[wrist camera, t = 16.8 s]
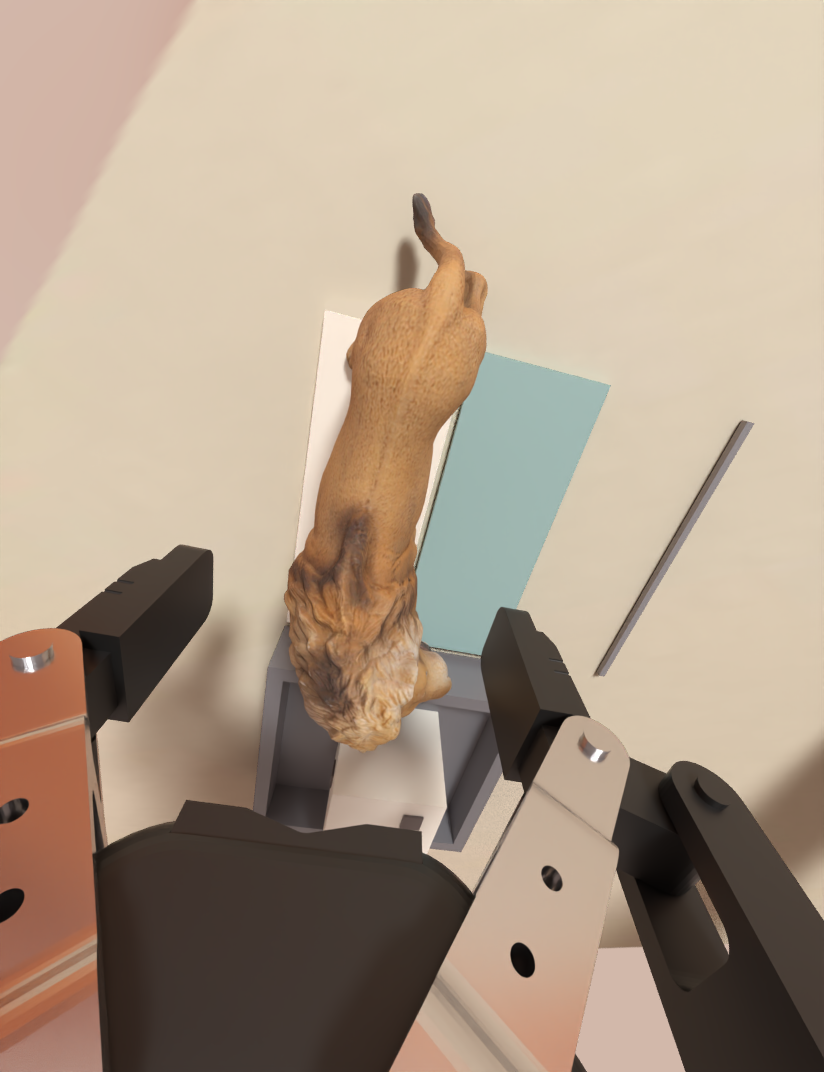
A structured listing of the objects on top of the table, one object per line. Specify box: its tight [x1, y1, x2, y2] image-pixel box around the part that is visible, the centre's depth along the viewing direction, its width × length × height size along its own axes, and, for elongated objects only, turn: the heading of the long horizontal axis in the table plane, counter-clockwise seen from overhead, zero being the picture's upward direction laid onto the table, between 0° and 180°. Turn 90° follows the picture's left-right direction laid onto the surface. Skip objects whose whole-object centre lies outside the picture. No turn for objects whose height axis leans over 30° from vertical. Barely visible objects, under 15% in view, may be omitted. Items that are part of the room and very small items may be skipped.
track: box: [287, 310, 754, 676], centre depth 18 cm, size 17×14×1 cm
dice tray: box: [253, 626, 503, 852], centre depth 22 cm, size 12×12×3 cm
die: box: [323, 709, 447, 854], centre depth 20 cm, size 5×5×5 cm
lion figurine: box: [284, 193, 487, 753], centre depth 12 cm, size 15×5×9 cm, turn 173°
